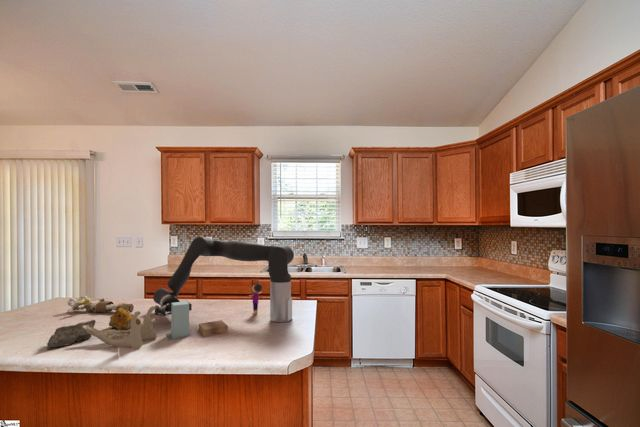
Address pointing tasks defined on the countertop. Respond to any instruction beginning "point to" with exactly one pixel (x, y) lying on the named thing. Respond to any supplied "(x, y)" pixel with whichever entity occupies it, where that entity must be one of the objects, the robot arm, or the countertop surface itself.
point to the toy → (256, 297)
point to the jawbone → (127, 332)
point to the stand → (213, 328)
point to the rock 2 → (122, 319)
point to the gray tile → (178, 337)
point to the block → (179, 319)
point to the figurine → (97, 305)
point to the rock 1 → (70, 334)
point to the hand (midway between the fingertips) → (175, 311)
